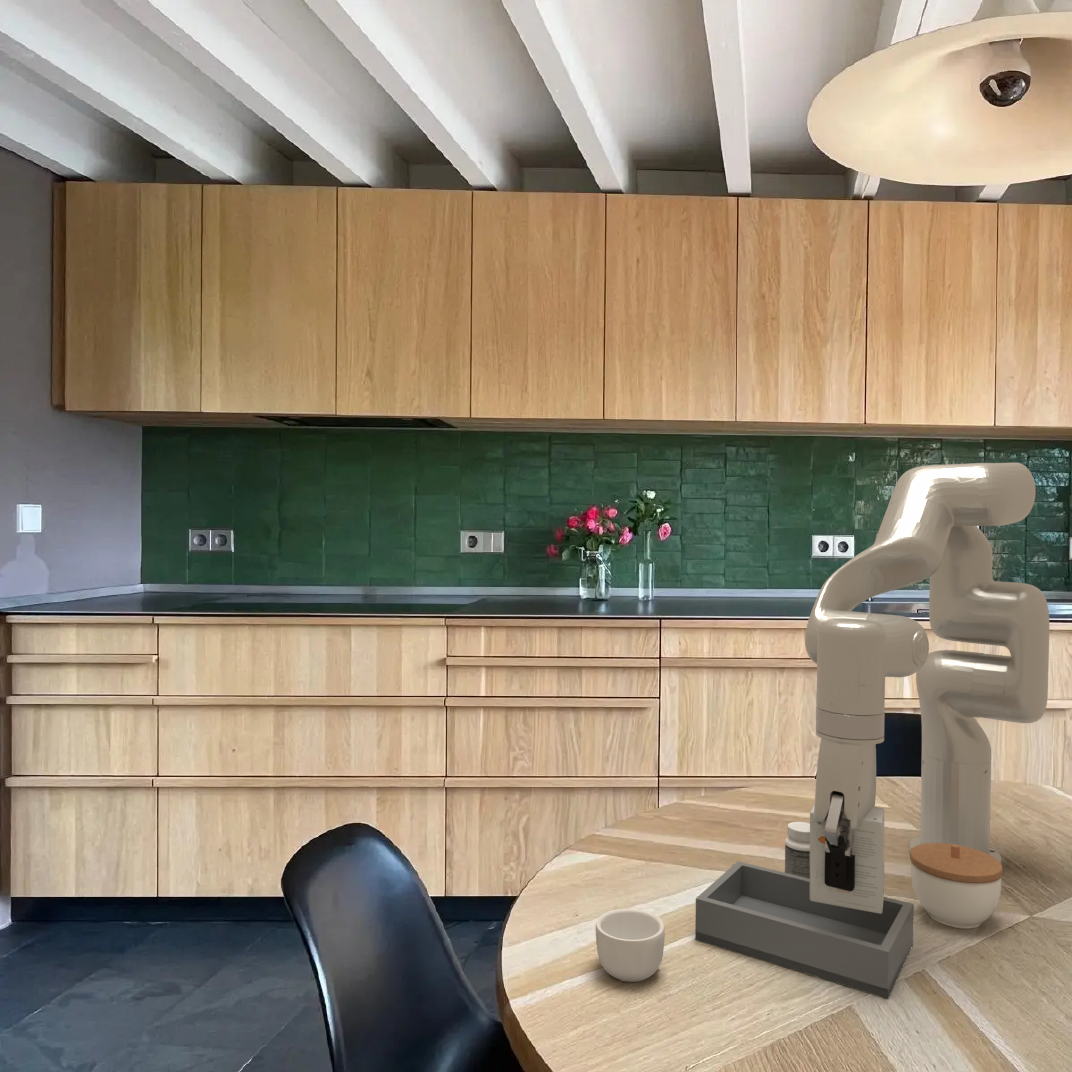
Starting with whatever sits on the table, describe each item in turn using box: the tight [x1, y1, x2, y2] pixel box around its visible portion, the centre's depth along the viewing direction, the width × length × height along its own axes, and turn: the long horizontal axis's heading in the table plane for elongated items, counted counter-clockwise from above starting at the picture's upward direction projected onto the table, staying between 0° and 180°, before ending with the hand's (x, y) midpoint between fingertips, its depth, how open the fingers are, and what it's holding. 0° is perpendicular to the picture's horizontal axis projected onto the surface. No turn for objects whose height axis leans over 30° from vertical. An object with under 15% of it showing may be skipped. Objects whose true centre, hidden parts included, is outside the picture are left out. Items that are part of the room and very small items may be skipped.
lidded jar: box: [909, 843, 1004, 930], centre depth 107 cm, size 11×11×9 cm
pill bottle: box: [784, 821, 810, 879], centre depth 117 cm, size 5×5×8 cm
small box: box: [809, 802, 885, 914], centre depth 98 cm, size 8×6×10 cm
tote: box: [694, 860, 915, 1000], centre depth 101 cm, size 14×22×5 cm, turn 56°
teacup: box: [595, 908, 666, 983], centre depth 94 cm, size 10×8×5 cm
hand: (847, 876), depth 98 cm, fingers closed on small box, 6 cm apart
